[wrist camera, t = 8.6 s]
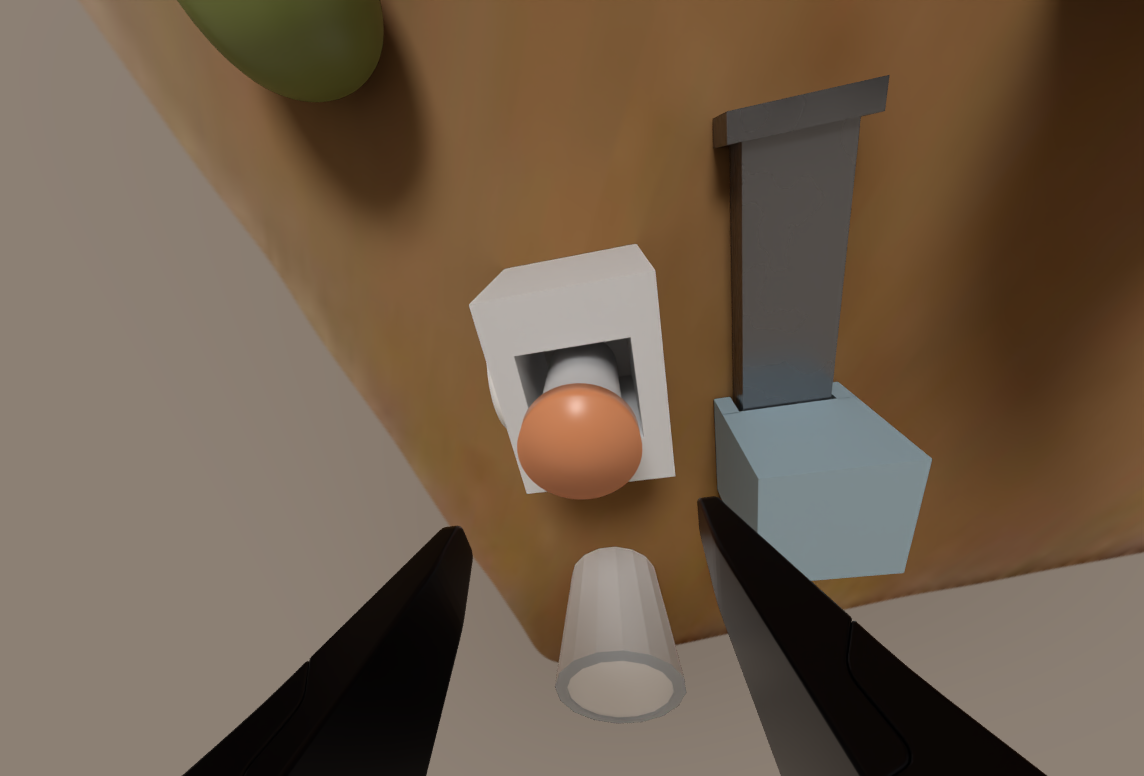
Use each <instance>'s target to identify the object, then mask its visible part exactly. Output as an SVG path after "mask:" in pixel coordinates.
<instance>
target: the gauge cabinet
mask: <svg viewBox="0 0 1144 776" xmlns="http://www.w3.org/2000/svg"><path fill="white" fill-rule="evenodd" d="M469 307H470V311H471V314H472V317H473V320H474V323H475V327H476V330H477V333H478V336H479V340H480V343H481V346H482V349H483V353H484V356H485V359H486V362H487V373H488V382H489V388H490V393H491V397H492V401H493V404H494V407H495V410H496V413H497V415H498V417H499V419H500V421H501V423H502V424H503V425H504V427H506V428H507V430H508V434H509V437H510V440H511V443H512V447H513V450H514V453H515V456H516V460H517V463H518V466H519V469H520V473H521V476H522V479H523V482H524V486H525V489H526V492H527V494H530V493H539V492H547V491H545V490H544V489H542V488H541V487H539V486H538V485H537V484H535V483H534V482H533V481H532V480H531V479H530V478H529V477H528V475H527V474H526V473H525V471H524V470H523V468H522V466H521V464H520V461H519V458H518V453H517V441H518V436H519V432H520V429H521V425H522V422H523V418H524V416H525V414H526V412H527V410H528V408H529V407H530V405H531V404H532V403H533V402H534V401H535V400H536V399H537V398H538V397H539V396H541V395H542V394H543V390H544V386H545V382H546V377H547V373H548V369H549V364H550V360H551V357H552V354H553V352H554V351H555V350H556V349H562V348H568V347H574V346H580V345H586V344H592V343H598V342H604V343H605V344H607V345H608V346H609V347H610V349H611V350H612V351H613V353H614V355H615V358H616V362H617V368H618V376H619V383H620V391H621V398H622V399H623V400H624V401H625V402H626V403H627V404H628V405H629V406H630V407H631V409H632V410H633V412H634V414H635V416H636V418H637V421H638V425H639V430H640V435H641V440H642V458H641V462H640V465H639V467H638V469H637V471H636V472H635V474H634V476H633V477H632V478H631V479H630V480H629V481H628V482H631V481H639V480H647V479H656V478H664V477H672V476H675V468H674V458H673V447H672V437H671V427H670V416H669V406H668V396H667V386H666V375H665V365H664V355H663V345H662V334H661V324H660V314H659V304H658V293H657V283H656V273H655V270H654V268H653V267H652V265H651V264H650V262H649V261H648V260H647V258H646V257H645V255H644V254H643V253H642V251H641V250H640V248H639V247H638V245H637V244H632V245H627V246H622V247H617V248H612V249H606V250H601V251H596V252H591V253H585V254H580V255H575V256H570V257H565V258H559V259H554V260H549V261H544V262H538V263H533V264H528V265H523V266H518V267H512V268H507V269H504V270H503V271H502V272H501V273H500V274H499V275H498V276H497V277H496V278H495V279H494V280H493V281H492V282H491V283H490V284H489V285H488V286H487V287H486V288H485V289H484V290H483V291H482V292H481V293H480V294H479V295H478V296H477V297H476V298H475V299H474V300H473V301H472V302H471V303H470V304H469Z"/></svg>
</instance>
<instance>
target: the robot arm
mask: <svg viewBox="0 0 1144 776" xmlns="http://www.w3.org/2000/svg"><path fill="white" fill-rule="evenodd" d="M697 505H698V519H699V530H700V535H701V539H702V543H703V547H704V551H705V555H706V559H707V564H708V568H709V572H710V576H711V580H712V584H713V588H714V592H715V596H716V599H717V603H718V606H719V609H720V612H721V615H722V618H723V621H724V623H725V626H726V629H727V631H728V634H729V637H730V639H731V642H732V645H733V648H734V650H735V653H736V656H737V658H738V661H739V664H740V666H741V669H742V672H743V675H744V677H745V680H746V683H747V685H748V688H749V691H750V693H751V696H752V699H753V701H754V704H755V707H756V709H757V712H758V715H759V718H760V720H761V723H762V726H763V728H764V731H765V734H766V736H767V739H768V742H769V744H770V747H771V750H772V753H773V755H774V758H775V761H776V763H777V766H778V769H779V771H780V774H781V776H1047V775H1045V774H1044V773H1043V772H1042V771H1040V770H1039V769H1038V768H1037V767H1035V766H1034V765H1033V764H1031V763H1030V762H1029V761H1027V760H1026V759H1025V758H1024V757H1022V756H1021V755H1020V754H1018V753H1017V752H1016V751H1014V750H1013V749H1012V748H1011V747H1009V746H1008V745H1007V744H1005V743H1004V742H1003V741H1001V740H1000V739H999V738H998V737H996V736H995V735H994V734H992V733H991V732H990V731H989V730H987V729H986V728H985V727H983V726H982V725H981V724H980V723H978V722H977V721H976V720H974V719H973V718H972V717H970V716H969V715H968V714H966V713H965V712H964V711H963V710H961V709H960V708H959V707H958V706H956V705H955V704H954V703H952V702H951V701H950V700H948V699H947V698H946V697H945V696H943V695H942V694H941V693H940V692H938V691H937V690H936V689H935V688H933V687H932V686H931V685H930V684H928V683H927V682H926V681H925V680H923V679H922V678H921V677H920V676H918V675H917V674H916V673H915V672H913V671H912V670H911V669H910V668H908V667H907V666H906V665H905V664H904V663H903V662H901V661H900V660H899V659H898V658H897V657H896V656H895V655H893V654H892V653H891V652H890V651H889V650H888V649H886V648H885V647H884V646H883V645H882V644H881V643H879V642H878V641H877V640H876V639H875V638H874V637H873V636H871V635H870V634H869V633H868V632H867V631H866V630H865V629H864V628H863V627H862V626H860V625H859V624H858V623H857V622H856V621H852V618H851V617H850V616H849V615H848V614H847V613H846V612H845V611H844V610H843V609H841V608H840V607H839V606H838V605H837V604H836V603H835V602H834V601H833V600H831V599H830V598H829V597H828V596H827V595H826V594H825V593H824V592H823V591H821V590H820V589H819V588H818V587H817V586H816V585H815V584H814V583H813V582H811V581H810V580H809V579H808V578H807V577H806V576H805V575H804V574H803V573H801V572H800V571H799V570H798V569H797V568H796V567H795V566H794V565H793V564H792V563H790V562H789V561H788V560H787V559H786V558H785V557H784V556H783V555H782V554H780V553H779V552H778V551H777V550H776V549H775V548H774V547H773V546H772V545H770V544H769V543H768V542H767V541H766V540H765V539H764V538H763V537H762V536H760V535H759V534H758V533H757V532H756V531H755V530H754V529H753V528H752V527H750V526H749V525H748V524H747V523H746V522H745V521H744V520H743V519H742V518H740V517H739V516H738V515H737V514H736V513H735V512H734V511H733V510H732V509H730V508H729V507H728V506H727V505H726V504H725V503H724V502H723V501H722V500H720V499H719V498H718V497H715V496H713V497H704V498H699V499H698V501H697ZM472 560H473V555H472V550H471V547H470V545H469V542H468V540H467V538H466V535H465V533H464V530H463V529H462V528H461V527H460V526H451V527H445V528H442V529H441V530H440V531H439V532H438V533H437V534H436V535H435V536H434V537H433V538H432V539H431V540H430V541H429V542H428V543H427V544H426V545H425V546H424V547H422V548H421V549H420V550H419V551H418V552H417V553H416V554H415V555H414V556H413V557H412V558H411V559H410V560H409V561H408V562H407V563H406V564H405V565H404V566H403V567H402V568H401V569H400V570H399V571H398V572H397V573H396V574H395V575H394V576H393V577H392V578H391V579H390V580H389V581H388V582H387V583H386V584H385V585H384V586H383V587H382V588H381V589H380V590H379V591H378V592H377V593H376V594H375V595H374V596H373V597H372V598H371V599H370V600H369V601H368V602H367V603H366V604H364V605H363V607H361V608H360V609H359V610H358V612H357V613H356V614H354V615H353V616H352V617H351V618H350V619H349V620H348V621H347V622H346V623H345V624H344V625H343V626H342V627H341V628H340V629H339V630H338V631H337V632H336V633H335V634H334V635H333V636H332V637H331V638H330V639H329V640H328V641H327V642H326V643H325V644H324V645H323V646H322V647H321V648H320V649H319V650H318V651H317V652H316V653H315V654H314V655H313V656H312V657H311V658H310V660H309V661H307V662H305V663H304V664H303V665H302V666H301V667H300V668H299V669H298V670H297V671H296V672H295V673H294V674H293V675H292V676H291V677H290V678H289V679H288V680H287V681H286V682H285V683H284V684H283V685H282V686H281V687H280V688H279V689H278V690H277V691H276V692H274V693H273V695H271V696H270V697H269V698H268V699H267V700H266V701H265V702H264V703H263V704H262V705H261V706H260V707H259V708H257V710H255V711H254V712H253V713H252V714H251V715H250V716H249V717H248V718H246V719H245V720H244V721H243V722H242V723H241V724H240V725H239V726H238V727H237V728H235V729H234V730H233V731H232V732H231V733H230V734H229V735H228V736H227V737H225V738H224V739H223V740H222V741H221V742H220V743H219V744H217V746H215V747H214V748H213V749H212V750H211V751H210V752H208V753H207V754H206V755H205V756H204V757H203V758H202V759H200V760H199V761H198V762H197V763H196V764H195V765H194V766H192V767H191V768H190V769H189V770H188V771H187V772H186V773H185V774H183V775H182V776H426V774H427V770H428V766H429V762H430V758H431V754H432V750H433V746H434V742H435V738H436V734H437V730H438V726H439V722H440V718H441V714H442V710H443V706H444V702H445V697H446V693H447V690H448V686H449V682H450V678H451V674H452V669H453V665H454V661H455V657H456V653H457V649H458V645H459V641H460V637H461V633H462V628H463V623H464V616H465V610H466V602H467V596H468V589H469V582H470V575H471V568H472ZM851 621H852V623H851Z"/></svg>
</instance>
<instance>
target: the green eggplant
mask: <svg viewBox="0 0 1144 776" xmlns="http://www.w3.org/2000/svg"><path fill="white" fill-rule="evenodd" d="M177 1H178V2H179V4H180V5H181V6H182V8H183V9H184V10H185V12H186V13H187V14H188V16H189V17H190V18H191V20H192V21H193V22H194V24H195V25H196V26H197V27H198V28H199V30H200V31H201V32H202V33H203V34H204V36H205V37H206V38H207V39H208V40H209V41H210V42H211V43H212V45H213V46H214V47H215V48H216V49H217V50H218V51H219V52H220V53H221V54H222V55H223V56H224V57H225V58H226V59H227V60H228V61H229V62H231V63H232V64H233V65H234V66H235V67H236V68H238V69H239V70H240V71H241V72H242V73H244V74H245V75H246V76H248V77H249V78H251V79H252V80H253V81H255V82H256V83H258V84H260V85H261V86H263V87H265V88H266V89H268V90H270V91H272V92H274V93H277V94H279V95H282V96H284V97H287V98H291V99H294V100H299V101H306V102H327V101H332V100H337V99H340V98H343V97H345V96H347V95H349V94H351V93H353V92H355V91H356V90H357V89H359V88H360V87H361V86H362V85H363V84H364V83H365V82H366V81H367V80H368V79H369V77H370V76H371V75H372V73H373V71H374V70H375V68H376V66H377V63H378V61H379V58H380V55H381V51H382V47H383V38H384V24H383V14H382V8H381V3H380V0H177Z"/></svg>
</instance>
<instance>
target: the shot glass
mask: <svg viewBox="0 0 1144 776" xmlns="http://www.w3.org/2000/svg"><path fill="white" fill-rule="evenodd" d="M555 688H556V691H557V693H558V695H559V698H560V700H561V701H562V702H563V703H564V704H565V705H566V706H568V707H569V708H570V709H571V710H572V711H574V712H575V713H578V714H580V715H583V716H585V717H588V718H590V719H593V720H598V721H604V722H611V723H634V722H643V721H647V720H650V719H654V718H657V717H661V716H663V715H665V714H666V713H668V712H670V711H671V710H672V709H674V708H676V707H677V706H678V705H679V704H680V702H681V700H682V699H683V697H684V695H685V694H686V688H685V681H684V676H683V672H682V668H681V665H680V661H679V657H678V654H677V650H676V646H675V642H674V639H673V635H672V631H671V628H670V624H669V620H668V617H667V613H666V609H665V606H664V602H663V598H662V595H661V591H660V587H659V584H658V580H657V576H656V572H655V569H654V566H653V565H652V564H651V562H650V561H649V560H648V559H647V558H646V557H645V556H643V555H642V554H640V553H638V552H636V551H634V550H632V549H626V548H620V547H608V548H600V549H597V550H594V551H592V552H590V553H588V554H585V555H584V556H583V557H582V558H581V559H580V560H579V561H578V562H577V563H576V564H575V567H574V571H573V574H572V580H571V586H570V593H569V599H568V606H567V612H566V619H565V625H564V632H563V638H562V645H561V651H560V658H559V664H558V671H557V677H556V684H555Z"/></svg>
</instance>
